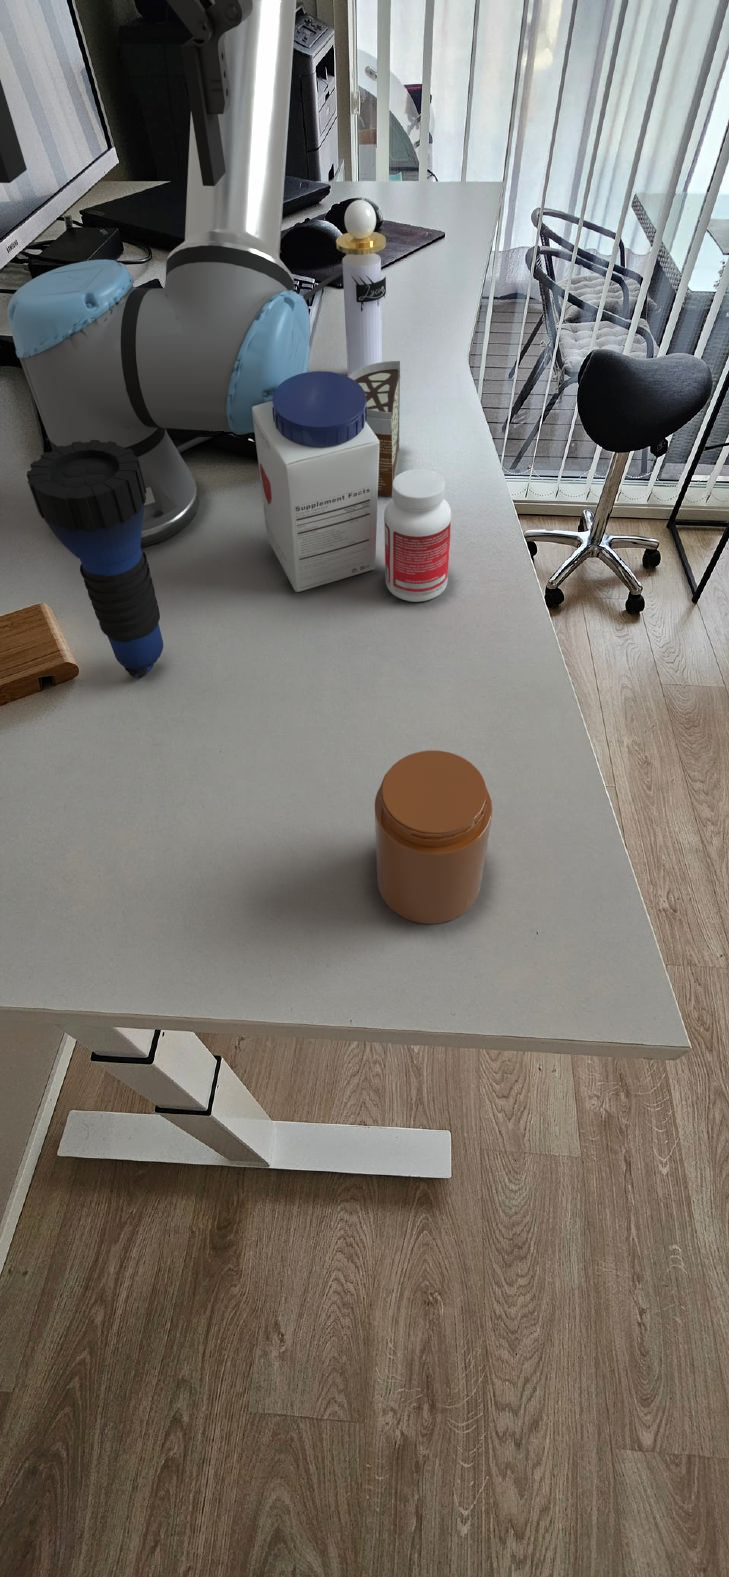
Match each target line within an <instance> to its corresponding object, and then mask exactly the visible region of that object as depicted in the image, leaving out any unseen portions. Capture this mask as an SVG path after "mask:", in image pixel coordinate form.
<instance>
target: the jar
mask: <svg viewBox="0 0 729 1577" xmlns="http://www.w3.org/2000/svg"><path fill="white" fill-rule="evenodd" d="M374 798H375V799H374V822H375V823H374V828H375V829H374V830H375V857H376V858H375V859H376V883H377V887H378V891H379V894H380V896H381V898H382V899H383V901H384V902H385V904H386V906H388V907H389V908H390V909H391V910H392V911H393V912H394V913H396V915H399V916H400V917H402V918H403V919H406V920H408V921H410V922H415V923H418V924H424V925H425V924H426V925H436V924H443V923H447V922H450V921H452V920H455V919H457V918H459V917H461V916H462V915H464V914H465V913H466V912H467V911H469V909H470V908H472V906H473V905H474V903H476V901H477V899H478V897H479V895H480V891H481V886H482V881H483V874H484V867H485V863H486V855H487V848H488V842H489V836H490V831H491V830H490V829H491V823H492V816H493V803H492V802H493V801H492V798H491V796H490V793H489V791H488V787H487V785H486V782H485V779H484V777H483V775H482V774H481V772H480V770H479V769H478V768H477V767H476V766H475V765H474V764H473V763H472V762H470V761H468V760H467V759H465V758H464V757H462V756H460V755H458V754H455V753H453V752H448V751H444V750H422V751H417V752H414V753H410V754H408V755H406V756H404V757H402V758H401V759H399V760H398V761H397V762H395V763H394V764H393V765H392V766H391V767H390V768H389V770H387V772H386V773H385V774H384V776H383V779H382V781H381V784H380V786H379V788H378V790H377V792H376V795H375V797H374Z"/></svg>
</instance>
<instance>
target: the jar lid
mask: <svg viewBox="0 0 729 1577" xmlns="http://www.w3.org/2000/svg"><path fill="white" fill-rule="evenodd" d="M272 411H273V421H274V422H275V426H276V429H278V431H279V432H280V433H281V434H282V435H283V436H284V437H285V438H287V439H289V440H290V441H292V442H295V443H297V444H301V445H305V446H311V447H328V446H334V445H339V444H342V443H345V442H347V441H349V440H351V439H353V438H354V437H355V436H357V435H358V434H359V433H360V432H361V431H362V429H363V428H364V425H365V422H366V421H367V400H366V394H365V392H364V390H363V388H362V387H361V386H360V385H359V384H358V383H357V382H356V381H354V380H353V379H351V378H349V377H348V375H344V374H342V373H338V372H333V371H328V370H327V371H324V370H318V371H317V370H315V371H313V370H312V371H307V372H306V373H301V374H298V375H295V376H292V377H290V378H288V379H287V380H285V381H284V382H282V383H281V384H280V385H279V386H278V387H277V388H276V390H275V392H274V394H273V407H272Z"/></svg>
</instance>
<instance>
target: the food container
mask: <svg viewBox="0 0 729 1577" xmlns="http://www.w3.org/2000/svg"><path fill="white" fill-rule="evenodd" d="M347 377H349V378H351V379H353V380H354V381H356V382H357V383H358V384H359V385H360V386H361V387H362V388H363V390H364V392H365V394H366V400H367V421H366V422H367V424H368V425H369V427H370V428H371V430H372V431H373V432H374V434H375V435H376V437H377V438H378V440H379V474H378V496H381V497H391V498H392V484H393V480H394V478H395V477H396V476H397V470H398V469H397V468H398V463H399V457H400V412H401V411H400V404H401V402H400V399H401V360H389V361H387V360H386V361H382V362H380V363H375V364H371V365H368V366H365V367H362V368H360V369H358V370H356V371H355V372H353V373H352V374H351V375H349V376H348V375H347Z"/></svg>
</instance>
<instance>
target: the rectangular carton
mask: <svg viewBox="0 0 729 1577" xmlns="http://www.w3.org/2000/svg"><path fill="white" fill-rule="evenodd" d="M272 407H273V401H270V402H266V403H262V404H259V405H256V406H253V407H252V413H253V423H254V431H255V432H254V438H255V439H254V440H255V446H256V454H257V463H258V471H259V480H260V487H261V496H262V505H263V512H264V513H263V514H264V522H265V530H266V538H267V540H268V542H269V544H270V546H271V548H272V550H273V551H274V553H275V555H276V558H277V559H278V561H279V563H280V565H281V568H282V570H283V571H284V573H285V575H286V578H287V579H288V581H289V582H290V585H291V586H292V588H293V590H294V592H295V593H299V592H303V591H307V590H310V589H313V588H317V587H319V586H324V585H327V584H330V583H333V582H336V581H337V582H338V581H340V580H344V579H347V578H351V577H353V576H356V575H360V574H364V573H367V572H370V571H373V570H375V569H376V557H377V555H376V554H377V528H378V527H377V526H378V525H377V524H378V501H379V500H378V498H379V497H378V496H379V495H378V474H379V440H378V438H377V437H376V435H375V434H374V432H373V431H372V430H371V428H370V427H369V425H368V424H367V422H365V425H364V428H363V429H362V431H361V432H360V433H359V434H358V435H357V436H355V437H354V438H353V439H351V440H349V441H347V442H345V443H342V444H339V445H334V446H328V447H311V446H305V445H301V444H297V443H295V442H292V441H290V440H289V439H287V438H285V437H284V436H283V435H282V434H281V433H280V432H279V431H278V429H276V426H275V422H274V421H273V411H272Z"/></svg>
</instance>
